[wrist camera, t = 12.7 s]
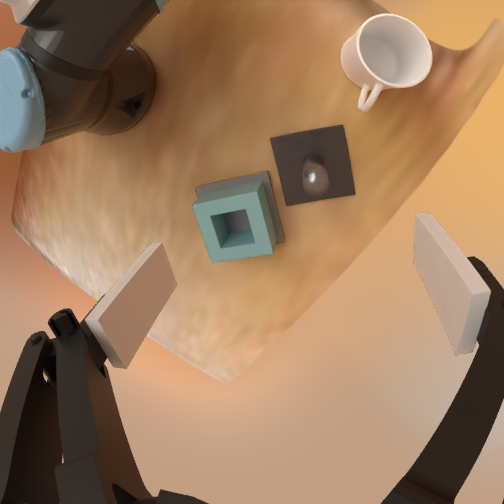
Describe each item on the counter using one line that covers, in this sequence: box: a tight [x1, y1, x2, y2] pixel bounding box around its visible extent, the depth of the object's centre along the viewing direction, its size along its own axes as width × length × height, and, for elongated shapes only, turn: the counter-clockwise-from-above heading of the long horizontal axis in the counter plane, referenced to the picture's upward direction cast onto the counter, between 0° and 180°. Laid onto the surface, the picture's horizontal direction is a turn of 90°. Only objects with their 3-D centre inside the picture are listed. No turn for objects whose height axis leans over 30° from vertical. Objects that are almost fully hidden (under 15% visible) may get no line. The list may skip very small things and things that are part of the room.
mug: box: [340, 14, 432, 112], centre depth 29 cm, size 12×8×12 cm
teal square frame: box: [192, 181, 277, 263], centre depth 44 cm, size 9×9×5 cm
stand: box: [270, 125, 355, 206], centre depth 38 cm, size 10×10×9 cm
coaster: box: [195, 171, 284, 244], centre depth 46 cm, size 11×11×1 cm
